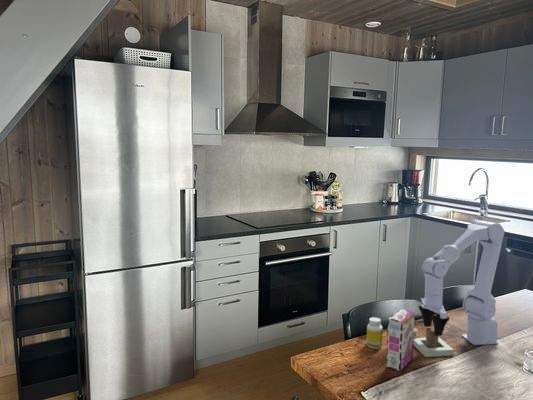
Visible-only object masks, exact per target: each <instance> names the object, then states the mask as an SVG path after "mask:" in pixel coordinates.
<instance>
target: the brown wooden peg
mask: <svg viewBox="0 0 533 400" xmlns="http://www.w3.org/2000/svg"><path fill="white" fill-rule="evenodd" d="M425 330H426V333H425V338H426V345H425V346H426V347H427V348H439V347H438V337H439V338H440V336H436V335H435V332H434V327H427V328H426V329H425Z"/></svg>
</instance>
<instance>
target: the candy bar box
mask: <svg viewBox="0 0 533 400" xmlns="http://www.w3.org/2000/svg"><path fill="white" fill-rule="evenodd" d="M414 321H415V312H414V311H411V310H407V309H402V308H401V309H399V310H398V311H396V312H395V313H394V314H392V315H391V316H389V318H387V339H386V340H387V341H386V342H387V344H386V348H387V349H386V368H389V369H392V370H395V371H398V372H401V371H403V369H404V368H405V367H406V366H407V365H408V364H409V363H410V362H411V361H412V359H413V358H414V357H413V355H414V354H413V353H414V345H413V334H414Z"/></svg>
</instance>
